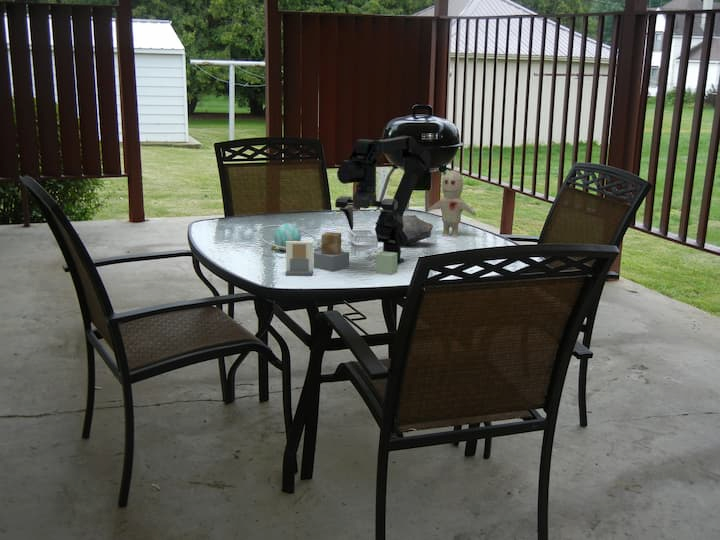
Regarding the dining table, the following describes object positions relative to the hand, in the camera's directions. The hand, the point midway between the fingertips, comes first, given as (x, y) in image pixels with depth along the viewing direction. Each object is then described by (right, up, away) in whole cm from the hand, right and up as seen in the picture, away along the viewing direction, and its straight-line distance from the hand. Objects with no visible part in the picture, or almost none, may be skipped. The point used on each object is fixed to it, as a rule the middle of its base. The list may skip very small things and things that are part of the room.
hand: (366, 230), depth 240 cm
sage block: (+6, -13, -2) cm, 15 cm away
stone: (+16, -3, +39) cm, 42 cm away
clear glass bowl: (-27, -6, +25) cm, 37 cm away
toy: (+33, +1, +55) cm, 64 cm away
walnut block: (-11, -7, +2) cm, 13 cm away
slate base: (-11, -12, +3) cm, 16 cm away
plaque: (-20, -13, -5) cm, 25 cm away
